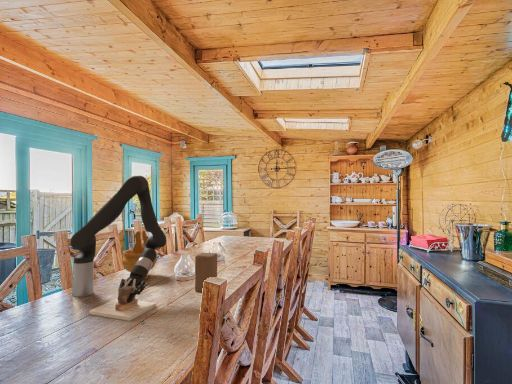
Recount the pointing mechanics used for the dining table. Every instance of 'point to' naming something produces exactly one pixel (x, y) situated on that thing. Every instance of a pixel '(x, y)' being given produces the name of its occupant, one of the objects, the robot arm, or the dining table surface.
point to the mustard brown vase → (135, 253)
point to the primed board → (128, 314)
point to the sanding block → (125, 299)
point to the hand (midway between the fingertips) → (123, 301)
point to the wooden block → (204, 268)
